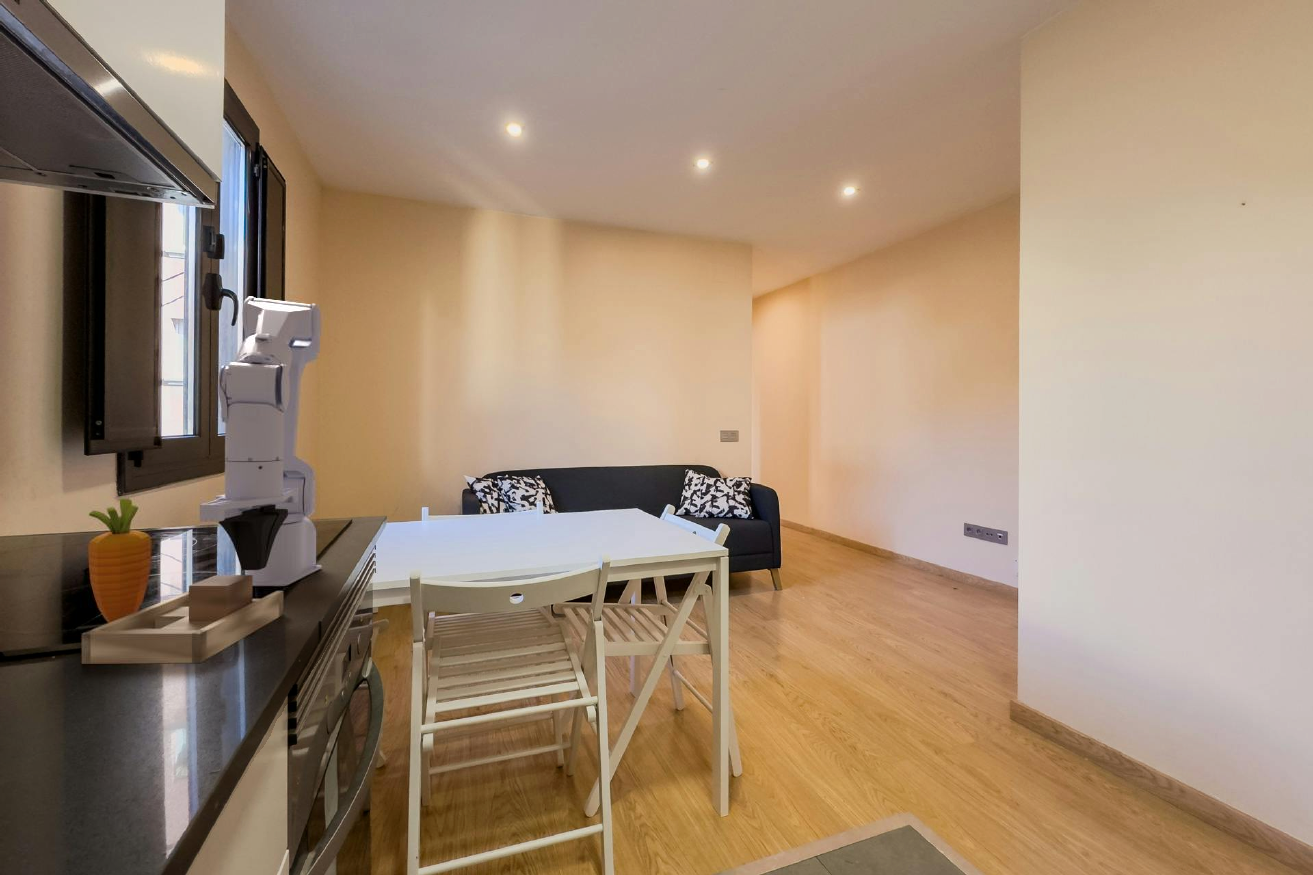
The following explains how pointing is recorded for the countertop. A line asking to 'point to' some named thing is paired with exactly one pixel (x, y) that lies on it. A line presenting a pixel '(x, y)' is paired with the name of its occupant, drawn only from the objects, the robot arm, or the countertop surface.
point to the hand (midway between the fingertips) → (253, 568)
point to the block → (219, 596)
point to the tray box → (174, 633)
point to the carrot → (119, 563)
